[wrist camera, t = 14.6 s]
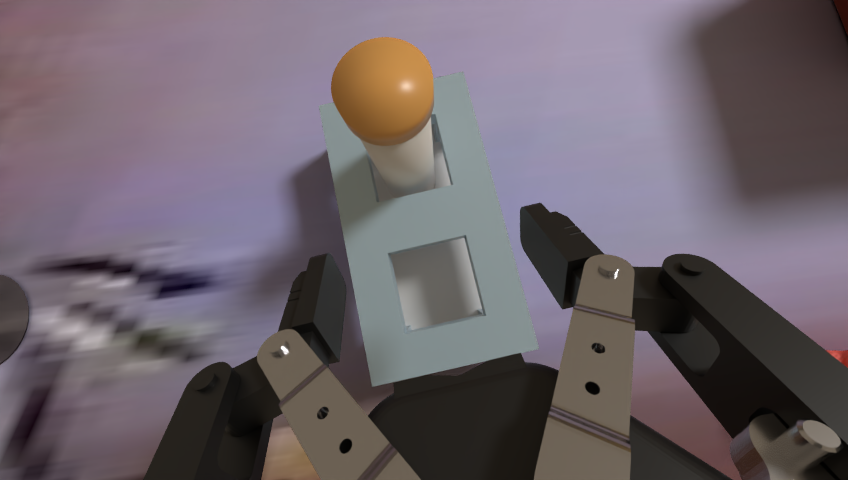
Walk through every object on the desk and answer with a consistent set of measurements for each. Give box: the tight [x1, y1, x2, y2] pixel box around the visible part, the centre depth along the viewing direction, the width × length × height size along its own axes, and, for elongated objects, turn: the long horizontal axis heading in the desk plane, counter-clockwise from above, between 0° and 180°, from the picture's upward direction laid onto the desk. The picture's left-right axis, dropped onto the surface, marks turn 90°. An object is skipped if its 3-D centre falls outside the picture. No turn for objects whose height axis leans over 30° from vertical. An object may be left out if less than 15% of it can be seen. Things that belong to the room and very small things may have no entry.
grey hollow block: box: [319, 72, 539, 387], centre depth 26 cm, size 22×12×6 cm, turn 13°
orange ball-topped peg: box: [331, 37, 435, 198], centre depth 22 cm, size 5×5×14 cm
